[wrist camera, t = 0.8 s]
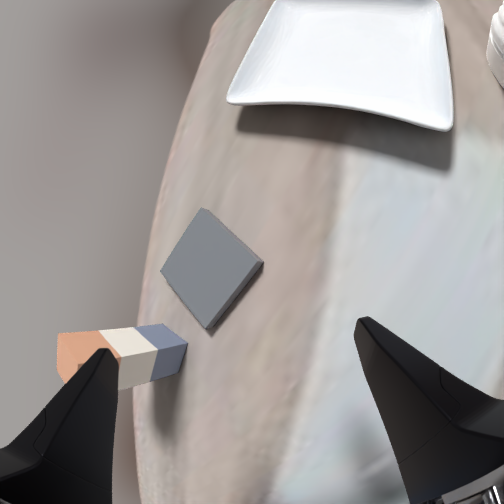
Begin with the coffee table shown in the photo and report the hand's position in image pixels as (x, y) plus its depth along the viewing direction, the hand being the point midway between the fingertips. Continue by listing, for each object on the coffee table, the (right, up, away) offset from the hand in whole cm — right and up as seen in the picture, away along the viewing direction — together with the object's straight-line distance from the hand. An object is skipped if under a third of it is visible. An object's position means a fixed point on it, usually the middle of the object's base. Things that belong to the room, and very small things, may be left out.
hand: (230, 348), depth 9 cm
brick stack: (-8, -7, +18) cm, 21 cm away
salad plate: (+11, +24, +13) cm, 30 cm away
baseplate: (-3, +2, +17) cm, 17 cm away
